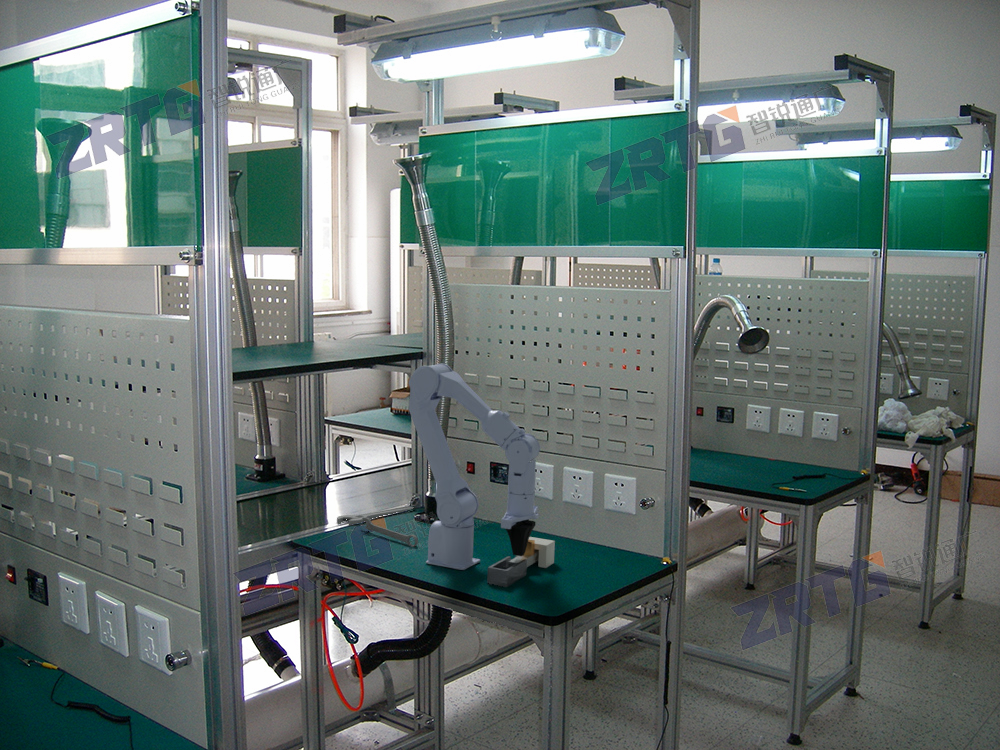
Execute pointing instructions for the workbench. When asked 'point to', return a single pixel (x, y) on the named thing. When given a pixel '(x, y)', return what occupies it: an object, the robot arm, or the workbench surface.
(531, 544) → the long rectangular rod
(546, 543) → the socket block
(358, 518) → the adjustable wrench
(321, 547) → the workbench surface
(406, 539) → the combination wrench
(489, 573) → the sleeve
